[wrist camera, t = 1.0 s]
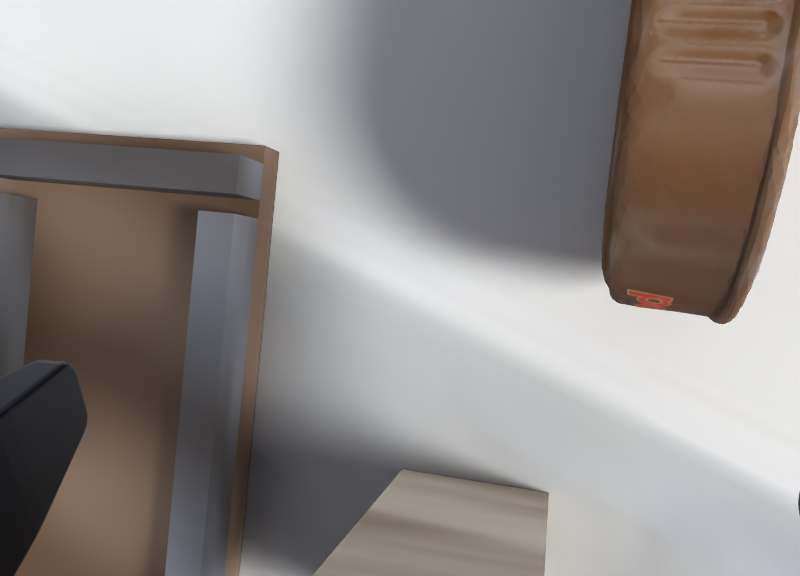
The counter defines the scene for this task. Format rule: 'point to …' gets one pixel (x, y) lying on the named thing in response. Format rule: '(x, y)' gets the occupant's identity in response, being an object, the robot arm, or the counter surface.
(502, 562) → the block
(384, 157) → the counter surface
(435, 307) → the counter surface
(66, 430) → the robot arm
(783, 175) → the tin
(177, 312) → the track
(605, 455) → the counter surface
